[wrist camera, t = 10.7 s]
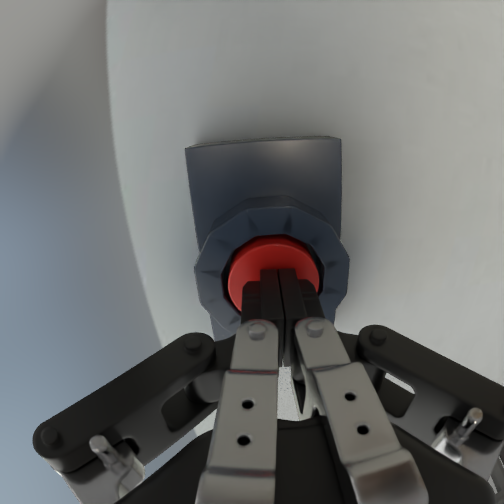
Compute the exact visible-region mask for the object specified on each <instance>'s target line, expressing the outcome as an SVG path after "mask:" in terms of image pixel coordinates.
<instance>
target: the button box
mask: <svg viewBox="0 0 504 504" xmlns="http://www.w3.org/2000/svg"><path fill="white" fill-rule="evenodd" d="M185 156H186V164H187V172H188V180H189V188H190V195H191V203H192V210H193V217H194V224H195V230H196V237H197V243H198V249H199V256H198V258H197V261H196V264H195V267H194V273H195V278H196V284H197V289H198V294H199V299H200V303H201V305H202V306H203V307H204V308H205V309H206V310H207V311H208V313H209V314H210V318H211V323H212V328H213V333H214V338H215V341H220V340H224V339H227V338H229V337H231V336H233V335H234V334H236V332H237V328H238V327H239V326H240V325H241V311H240V310H239V309H238V308H237V307H236V305H235V304H234V303H233V301H232V299H231V297H230V294H229V290H228V278H229V270H230V263H231V259H232V256H233V253H234V251H235V250H236V248H238V247H240V246H241V245H243V244H244V243H246V242H247V241H249V240H251V239H252V238H254V237H255V236H262V235H276V234H287V235H289V236H291V237H293V238H296V239H298V240H300V241H302V242H304V243H305V245H306V246H307V247H308V249H309V251H310V253H311V256H312V258H313V260H314V263H315V265H316V268H317V271H318V275H319V287H318V291H317V295H318V298H319V300H320V303H321V306H322V309H323V312H324V315H325V318H326V319H327V320H329V321H330V322H331V323H332V324H333V325H334V320H335V310H336V308H337V307H338V305H339V304H340V302H341V301H342V300H343V298H344V297H345V295H346V293H347V285H348V274H349V262H350V259H349V255H348V254H347V252H346V250H345V248H344V247H343V245H342V243H341V241H340V237H341V202H342V159H341V139H340V138H335V137H330V136H303V137H276V138H259V139H245V140H233V141H223V142H213V143H204V144H196V145H192V146H190V147H187V148H185Z"/></svg>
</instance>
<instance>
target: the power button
mask: <svg viewBox="0 0 504 504" xmlns="http://www.w3.org/2000/svg"><path fill="white" fill-rule="evenodd" d="M288 268H295V271H296V275H297V278H298V279H308V280H309V281H310V282H311V283H312V284H313V285H314V286H315V289H316V292H317V291H318V287H319V275H318V271H317V268H316V265H315V263H314V260H313V258H312V256H311V253H310V251H309V249H308V247H307V246H306V245H305V243H304V242H302V241H300V240H298V239H296V238H293V237H291V236H289V235H287V234H276V235H262V236H255V237H254V238H252V239H251V240H249V241H247V242H246V243H244V244H243V245H241V246H240V247H238V248H236V250H235V251H234V253H233V256H232V259H231V263H230V270H229V278H228V290H229V294H230V297H231V299H232V301H233V303H234V304H235V305H236V307H237V308H238V309H239V310H240V311H241V306H242V288H243V286H244V285H245V284H246V283H247V281H260V269H277V271H278V269H288Z"/></svg>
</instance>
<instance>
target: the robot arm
mask: <svg viewBox="0 0 504 504" xmlns="http://www.w3.org/2000/svg"><path fill="white" fill-rule="evenodd" d="M282 360H283V363H284V367H288V366H291V386H292V391H293V395H294V399H295V404H296V408H297V412H298V417H299V421H289V420H282V419H277V404H278V377H279V367H282ZM386 372H387V373H389V374H390V375H392V376H394V377H396V378H397V379H399V380H401V381H403V382H404V383H406V384H408V385H410V386H411V387H412V388H413V390H414V392H415V394H412V393H411V392H409V391H407V390H405V389H404V388H402V387H400V386H398V385H397V384H395V383H393V382H391V381H390V380H388V379H386V378H385V375H386ZM215 409H217V412H216V418H215V423H214V428H213V429H212V430H210V431H208V432H205V433H203V434H202V435H200V436H198V437H197V438H195V439H194V440H192V441H191V442H190V443H189V444H187V445H186V446H185V447H184V448H183V449H182V450H181V451H180V452H179V453H177V454H176V455H175V456H174V457H173V458H171V459H170V460H169V461H168V462H167V463H165V464H164V465H163V466H162V467H161V468H159V469H158V470H157V471H156V472H154V473H153V474H152V475H151V476H150V477H148V478H147V479H146V480H145V481H143V479H144V477H145V468H144V466H145V465H147V464H148V463H149V462H151V461H152V460H153V459H155V458H156V457H157V456H159V455H160V454H161V453H163V452H164V451H165V450H167V449H168V448H169V447H170V446H171V445H173V444H174V443H175V442H177V441H178V440H179V439H180V438H182V437H183V436H184V435H186V434H187V433H188V432H189V431H190V430H191V429H193V428H194V427H195V426H197V425H198V424H199V423H200V422H201V421H203V420H204V419H205V418H206V417H207V416H208V415H210V414H211V413H212V412H213V411H214V410H215ZM503 444H504V386H502V385H500V384H498V383H496V382H494V381H492V380H490V379H488V378H486V377H484V376H482V375H480V374H478V373H476V372H474V371H472V370H470V369H468V368H466V367H464V366H462V365H460V364H458V363H456V362H454V361H452V360H450V359H448V358H446V357H444V356H442V355H440V354H438V353H436V352H434V351H432V350H430V349H428V348H427V347H425V346H423V345H421V344H419V343H417V342H415V341H413V340H411V339H409V338H407V337H405V336H403V335H401V334H399V333H397V332H395V331H393V330H391V329H389V328H387V327H385V326H381V325H369V326H366V327H364V328H362V329H361V330H360V332H359V335H353V334H346V333H342V332H339V331H336V329H335V327H334V325H333V324H332V323H331V322H330V321H329V320H327V319H326V318H325V315H324V312H323V309H322V306H321V303H320V300H319V298H318V295H317V292H316V289H315V286H314V285H313V284H312V283H311V282H310V281H309V280H308V279H298V278H297V275H296V271H295V268H288V269H278V271H277V269H260V281H247V283H246V284H245V285H244V286H243V288H242V306H241V325H240V326H239V327H238V328H237V332H236V334H234V335H233V336H231V337H229V338H227V339H224V340H220V341H215V342H214V340H213V339H212V338H211V337H210V336H209V335H207V334H204V333H188V334H185V335H183V336H181V337H179V338H178V339H176V340H175V341H173V342H171V343H170V344H168V345H167V346H165V347H164V348H162V349H161V350H159V351H158V352H156V353H155V354H153V355H151V356H150V357H148V358H147V359H145V360H144V361H142V362H141V363H139V364H137V365H136V366H134V367H133V368H131V369H130V370H128V371H126V372H125V373H123V374H122V375H120V376H119V377H117V378H115V379H114V380H112V381H111V382H109V383H107V384H106V385H104V386H103V387H101V388H99V389H98V390H96V391H95V392H93V393H91V394H90V395H88V396H86V397H85V398H83V399H81V400H80V401H78V402H76V403H75V404H73V405H71V406H70V407H68V408H67V409H65V410H63V411H62V412H60V413H58V414H57V415H55V416H53V417H52V418H50V419H48V420H46V421H45V422H43V423H41V424H40V425H39V426H38V427H37V429H36V430H35V432H34V434H33V446H34V449H35V450H36V452H37V453H38V454H39V455H40V456H41V457H42V458H44V460H45V461H47V462H48V463H49V464H50V466H51V467H52V468H53V469H54V470H55V471H56V472H58V473H59V474H60V475H61V476H62V477H63V478H64V480H65V482H66V483H67V485H68V486H69V488H70V489H71V491H72V492H73V494H74V495H75V497H76V498H77V500H78V501H79V502H80V504H497V502H496V496H495V493H494V491H493V488H492V487H491V485H490V484H489V483H488V479H489V477H490V475H491V473H492V471H493V469H494V466H495V464H496V462H497V459H498V457H499V455H500V452H501V449H502V447H503ZM142 481H143V482H142Z"/></svg>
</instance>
